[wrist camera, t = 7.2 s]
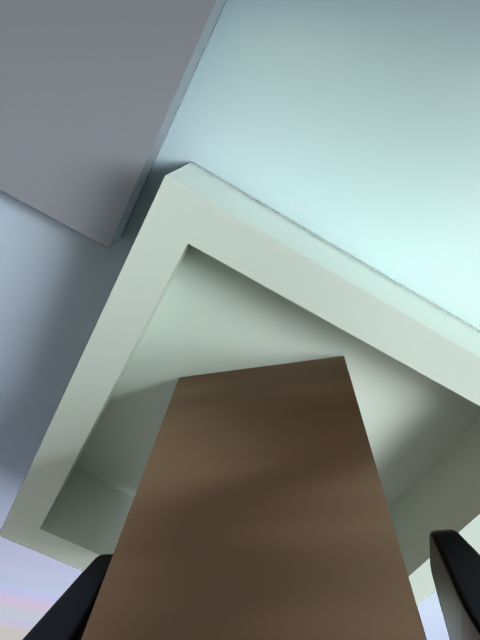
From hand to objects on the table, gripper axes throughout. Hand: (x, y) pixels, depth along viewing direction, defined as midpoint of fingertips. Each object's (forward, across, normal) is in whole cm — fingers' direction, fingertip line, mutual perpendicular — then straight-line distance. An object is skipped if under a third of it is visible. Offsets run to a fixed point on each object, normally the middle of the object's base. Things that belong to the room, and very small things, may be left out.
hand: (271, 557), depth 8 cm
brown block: (+4, 0, 0) cm, 4 cm away
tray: (+4, 0, 0) cm, 4 cm away
